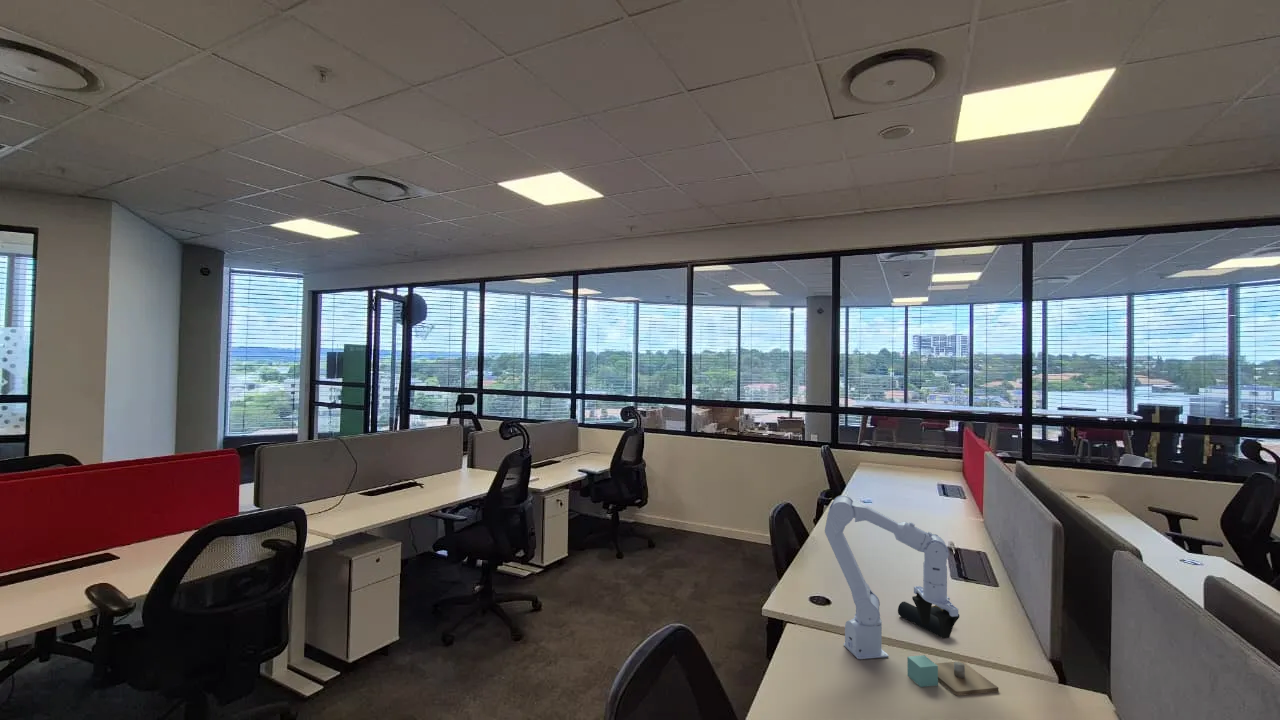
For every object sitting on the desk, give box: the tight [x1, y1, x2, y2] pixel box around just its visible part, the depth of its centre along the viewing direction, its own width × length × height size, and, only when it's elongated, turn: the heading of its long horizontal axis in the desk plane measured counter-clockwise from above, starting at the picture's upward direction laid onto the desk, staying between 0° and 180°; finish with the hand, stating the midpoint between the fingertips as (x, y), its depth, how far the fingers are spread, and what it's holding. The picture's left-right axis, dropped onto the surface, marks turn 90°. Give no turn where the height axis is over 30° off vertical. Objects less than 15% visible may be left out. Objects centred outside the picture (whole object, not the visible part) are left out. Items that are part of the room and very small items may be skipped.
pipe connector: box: [897, 601, 943, 638], centre depth 165 cm, size 12×5×15 cm
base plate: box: [934, 660, 999, 697], centre depth 136 cm, size 12×12×4 cm
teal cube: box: [907, 654, 939, 688], centre depth 135 cm, size 5×5×5 cm
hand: (934, 630), depth 142 cm, fingers open, 7 cm apart
